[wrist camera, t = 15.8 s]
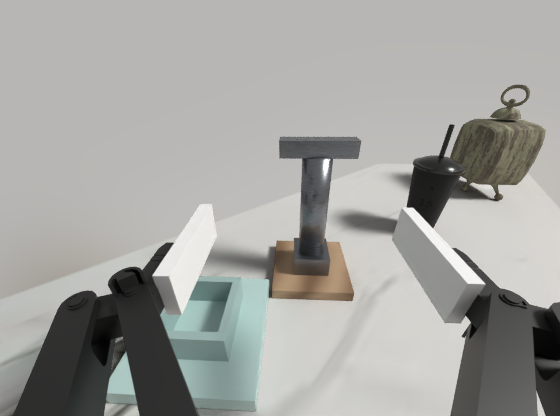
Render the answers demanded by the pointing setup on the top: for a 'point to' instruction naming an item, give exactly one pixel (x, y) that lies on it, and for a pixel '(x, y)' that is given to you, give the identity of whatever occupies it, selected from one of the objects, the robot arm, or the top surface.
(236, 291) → the square socket base
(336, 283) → the walnut pad
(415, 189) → the drinking cup
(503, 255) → the top surface
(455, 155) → the tabletop clock
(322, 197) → the t key
